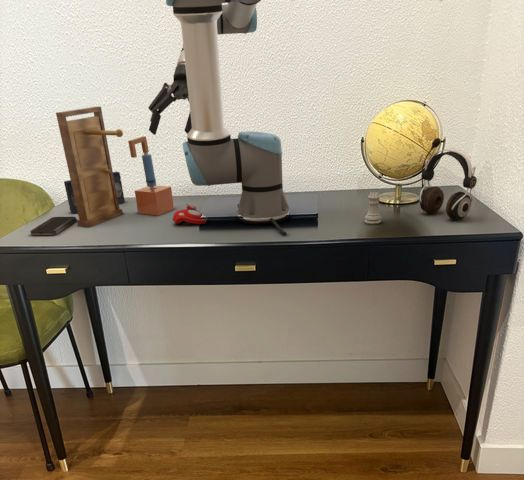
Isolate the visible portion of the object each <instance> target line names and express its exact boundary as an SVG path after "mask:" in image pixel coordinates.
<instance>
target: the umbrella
mask: <svg viewBox="0 0 524 480" xmlns="http://www.w3.org/2000/svg"><path fill="white" fill-rule="evenodd" d="M127 142H128V148H129V152H130V157H131V158H132V159H134V158H135V159H136V158H137V157H138V155H137V149H136V145H139V144H141V150H142V153H143V154H142V155H141V158H142V159H141V160H142V165H143V170H144V177H145V183H146V187H147V186H148V187H150V189H152V190H154V186H156V185H157V179H156V174H155V170H154V163H153V157H152V154H150V153H149V152H150V150H149V146H148V145H149V144H148V140H147V136H145V135H144V136H140V137H136V138H133V139H129V140H128V141H127Z"/></svg>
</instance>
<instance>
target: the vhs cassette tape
mask: <svg viewBox="0 0 524 480" xmlns="http://www.w3.org/2000/svg"><path fill="white" fill-rule="evenodd" d="M113 176H114V182H115V187H116V193H117V198H118V204H119V205H121V204H124V203H126V200H125V194H124V190H123V183H122V178H121V172H120V171H113ZM63 183H64V188H65V192H66V197H67V203H68V206H69V211H70V213H71V214H78V211H77V207H76V202H75V198H74V193H73V189H72V184H71V179H69V180H64V181H63Z"/></svg>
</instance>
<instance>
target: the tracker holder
mask: <svg viewBox="0 0 524 480" xmlns="http://www.w3.org/2000/svg"><path fill="white" fill-rule="evenodd" d="M185 205H186V208H184V209H179V210H176V211H175V212H174V214H173V216H172V221H173V222H174V223H175V224H176V225H180V224H182V223H184V222H186V223H190V224H195V225H204V224H206V223H207V220H208V217H207V218H206V219H205V220H201V218H200V217H201V216H202V214H203V213H202V212H201V211H199V210H198V209H197V207H196V206H195V205H193V204H192V205H191V204H189V203H185Z"/></svg>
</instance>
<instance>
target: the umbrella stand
mask: <svg viewBox="0 0 524 480" xmlns="http://www.w3.org/2000/svg"><path fill="white" fill-rule="evenodd" d="M134 195H135V202H136V208H137V213H138V214H142V215H149V216H161V215H163V214H166V213H168V212H171V211H173V210H175V205H174V198H173V189H172V186H167V185H157V184H156V186H154V190H152V189H150V187H148V186H147V185H146V186H144V187H141V188H138V189H135V190H134Z"/></svg>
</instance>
